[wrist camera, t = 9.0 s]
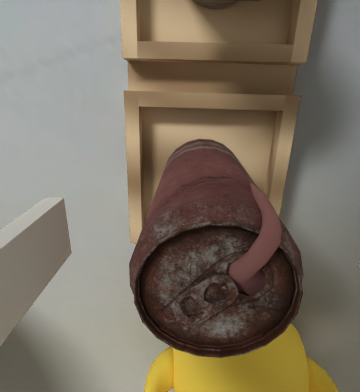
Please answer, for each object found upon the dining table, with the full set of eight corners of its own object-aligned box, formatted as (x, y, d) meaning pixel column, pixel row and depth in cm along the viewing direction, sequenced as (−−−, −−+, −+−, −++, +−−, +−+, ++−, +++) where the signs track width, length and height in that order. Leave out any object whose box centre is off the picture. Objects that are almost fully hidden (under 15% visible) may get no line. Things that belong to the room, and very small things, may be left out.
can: (254, 151, 21) (362, 251, 8) (220, 219, 23) (257, 386, 10) (182, 122, 20) (163, 173, 7) (154, 194, 22) (100, 336, 9)
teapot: (142, 374, 32) (116, 512, 22) (139, 274, 27) (104, 390, 16) (306, 386, 32) (365, 533, 21) (336, 285, 26) (434, 413, 16)
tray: (124, -181, 16) (109, -242, 13) (329, -181, 15) (360, -244, 12) (137, 235, 25) (130, 253, 23) (262, 241, 25) (271, 260, 22)
